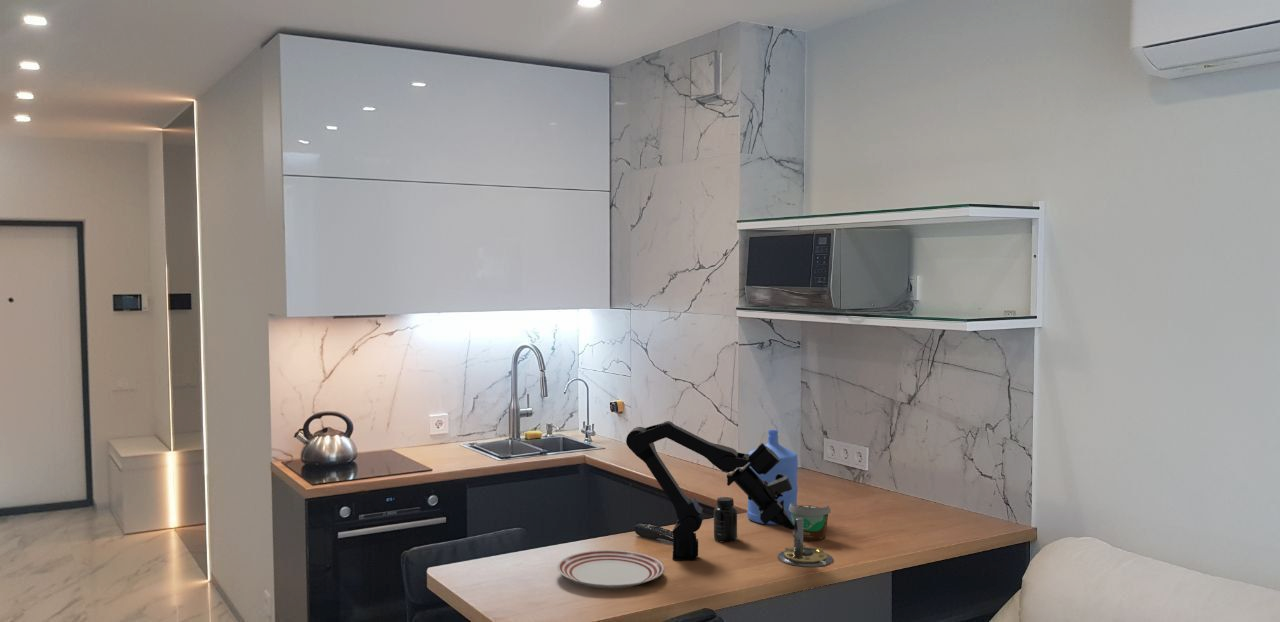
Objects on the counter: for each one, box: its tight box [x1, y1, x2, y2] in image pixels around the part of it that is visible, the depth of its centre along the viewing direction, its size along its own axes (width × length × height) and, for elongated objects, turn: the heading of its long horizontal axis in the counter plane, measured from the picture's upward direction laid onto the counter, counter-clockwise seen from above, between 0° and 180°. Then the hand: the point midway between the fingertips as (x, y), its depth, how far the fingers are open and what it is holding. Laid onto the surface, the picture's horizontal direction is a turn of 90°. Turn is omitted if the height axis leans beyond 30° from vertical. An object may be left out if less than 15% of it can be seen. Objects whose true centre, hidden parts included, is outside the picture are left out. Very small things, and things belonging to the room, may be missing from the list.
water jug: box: [746, 429, 799, 526], centre depth 309 cm, size 16×16×28 cm
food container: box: [789, 504, 832, 543], centre depth 286 cm, size 12×6×10 cm, turn 70°
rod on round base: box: [783, 518, 828, 563], centre depth 268 cm, size 12×12×12 cm
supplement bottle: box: [713, 496, 738, 543], centre depth 286 cm, size 7×7×12 cm
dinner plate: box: [556, 549, 665, 590], centre depth 252 cm, size 27×27×3 cm
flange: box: [777, 547, 834, 568], centre depth 268 cm, size 15×15×2 cm
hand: (793, 528), depth 264 cm, fingers closed, pressing on rod on round base
